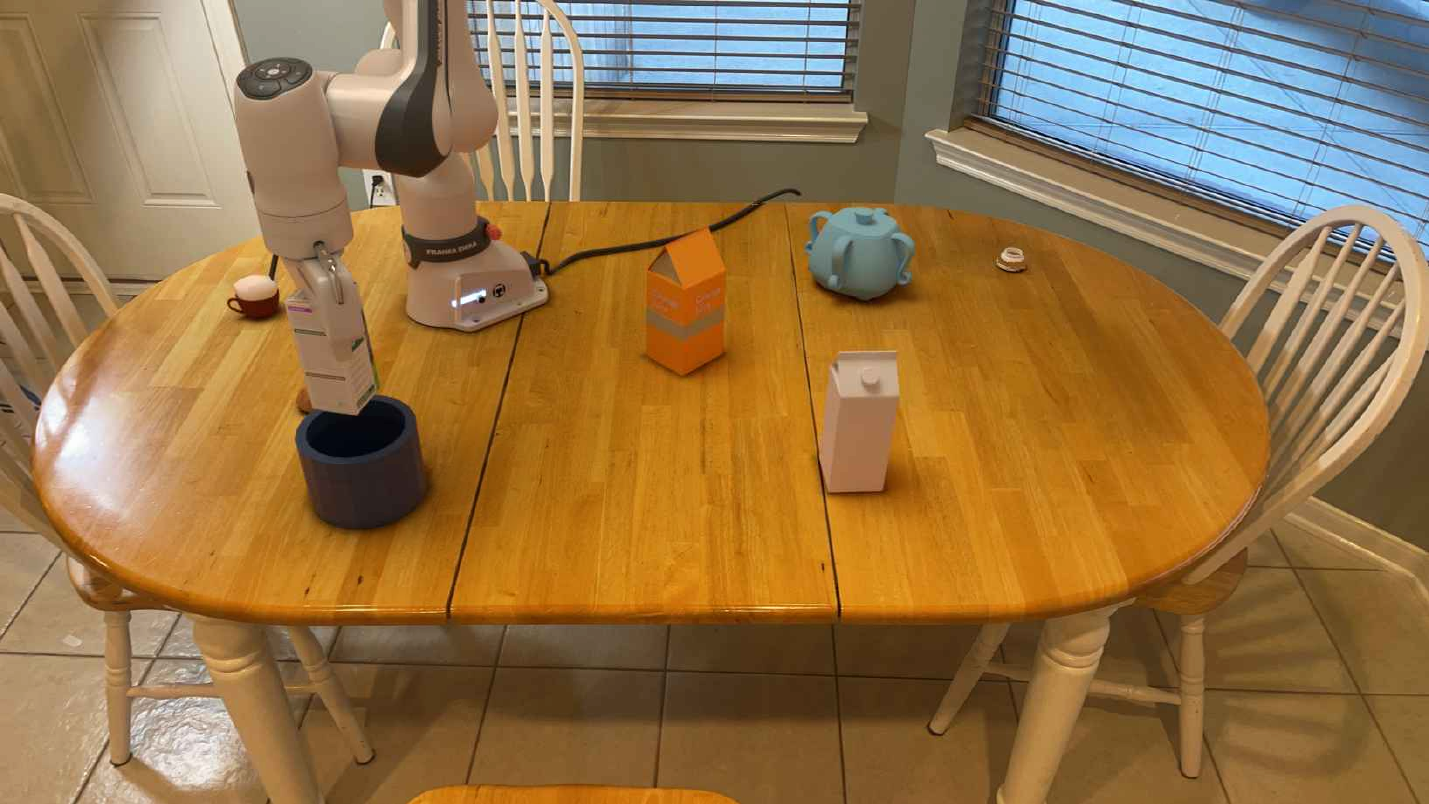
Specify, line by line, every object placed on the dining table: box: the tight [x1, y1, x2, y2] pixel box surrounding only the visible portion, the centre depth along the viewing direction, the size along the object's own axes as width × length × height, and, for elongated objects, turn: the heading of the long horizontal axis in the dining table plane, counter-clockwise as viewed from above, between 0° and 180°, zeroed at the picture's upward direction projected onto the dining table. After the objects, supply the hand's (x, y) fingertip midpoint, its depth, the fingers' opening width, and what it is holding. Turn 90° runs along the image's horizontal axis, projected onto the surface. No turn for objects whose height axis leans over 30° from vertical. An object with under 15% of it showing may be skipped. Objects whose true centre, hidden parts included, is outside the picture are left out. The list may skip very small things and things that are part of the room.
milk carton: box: [818, 350, 900, 493], centre depth 126 cm, size 7×7×19 cm
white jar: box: [995, 247, 1026, 272], centre depth 180 cm, size 5×3×5 cm
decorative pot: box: [804, 206, 916, 301], centre depth 170 cm, size 16×16×14 cm
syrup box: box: [283, 281, 381, 415], centre depth 114 cm, size 6×6×14 cm
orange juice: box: [645, 225, 727, 377], centre depth 148 cm, size 8×9×20 cm
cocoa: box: [226, 253, 280, 319], centre depth 156 cm, size 10×6×12 cm, turn 104°
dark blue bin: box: [294, 394, 427, 530], centre depth 123 cm, size 14×14×10 cm
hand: (331, 338), depth 113 cm, fingers closed on syrup box, 7 cm apart
